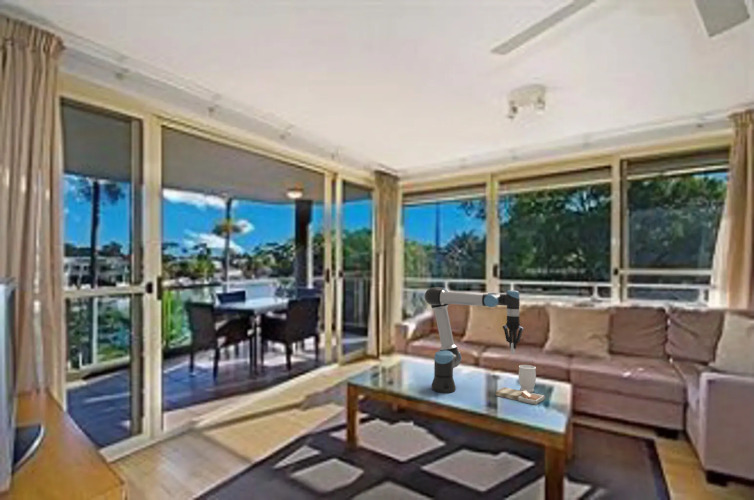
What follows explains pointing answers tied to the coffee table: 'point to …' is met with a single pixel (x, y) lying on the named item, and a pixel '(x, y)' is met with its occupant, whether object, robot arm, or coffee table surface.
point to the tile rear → (526, 394)
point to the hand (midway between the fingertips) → (512, 353)
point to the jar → (527, 377)
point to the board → (509, 393)
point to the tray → (535, 402)
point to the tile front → (534, 397)
